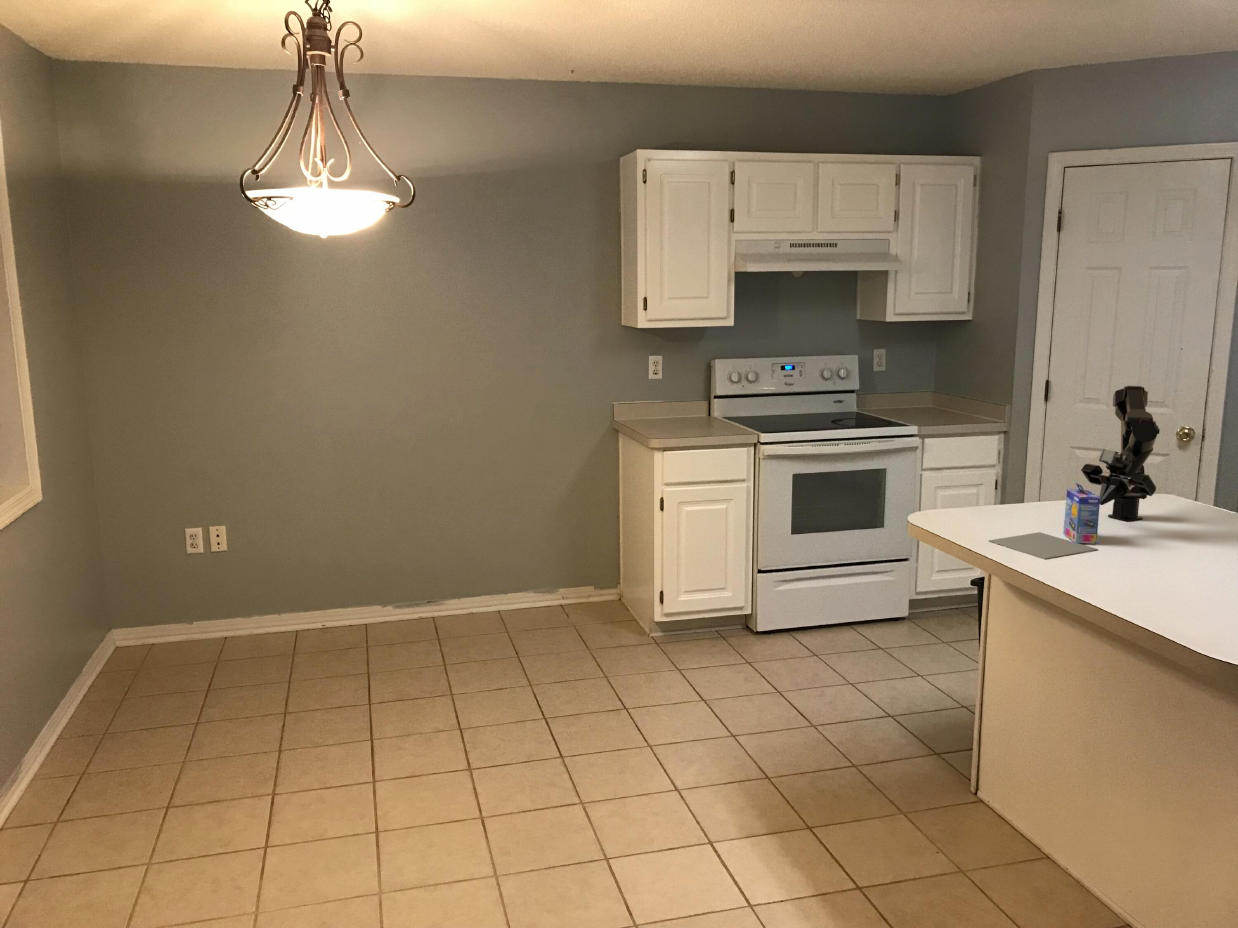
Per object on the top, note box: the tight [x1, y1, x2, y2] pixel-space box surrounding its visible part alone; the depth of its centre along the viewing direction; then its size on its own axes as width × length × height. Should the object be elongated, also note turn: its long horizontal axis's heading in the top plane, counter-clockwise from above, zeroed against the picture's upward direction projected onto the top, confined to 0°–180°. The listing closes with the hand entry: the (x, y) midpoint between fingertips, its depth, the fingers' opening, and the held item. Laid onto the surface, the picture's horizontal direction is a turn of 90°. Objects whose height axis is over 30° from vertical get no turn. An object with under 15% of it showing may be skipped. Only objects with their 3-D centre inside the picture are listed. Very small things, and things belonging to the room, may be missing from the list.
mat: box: [988, 531, 1099, 560], centre depth 249 cm, size 18×18×1 cm
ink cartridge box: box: [1062, 482, 1101, 545], centre depth 253 cm, size 10×6×14 cm, turn 174°
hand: (1100, 503), depth 255 cm, fingers closed
